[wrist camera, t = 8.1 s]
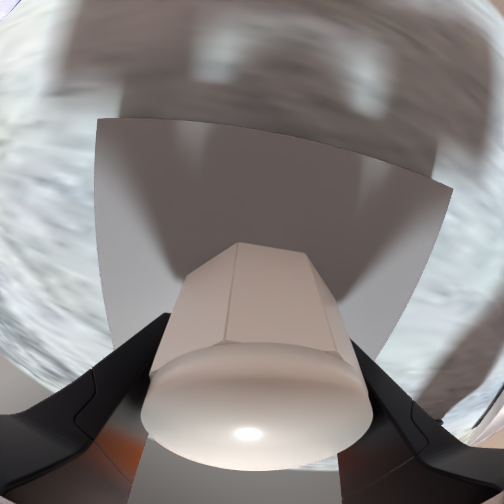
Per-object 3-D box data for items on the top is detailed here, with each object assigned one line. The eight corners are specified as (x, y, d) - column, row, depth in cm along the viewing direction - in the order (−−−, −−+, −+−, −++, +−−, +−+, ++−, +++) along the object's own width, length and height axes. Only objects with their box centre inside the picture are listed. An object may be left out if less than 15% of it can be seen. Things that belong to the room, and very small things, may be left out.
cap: (351, 258, 9) (417, 375, 4) (306, 365, 11) (322, 469, 6) (186, 230, 8) (121, 349, 4) (181, 350, 11) (154, 456, 6)
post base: (338, 384, 14) (356, 465, 9) (130, 356, 13) (97, 438, 8) (431, 179, 9) (533, 234, 4) (118, 118, 8) (2, 130, 3)
